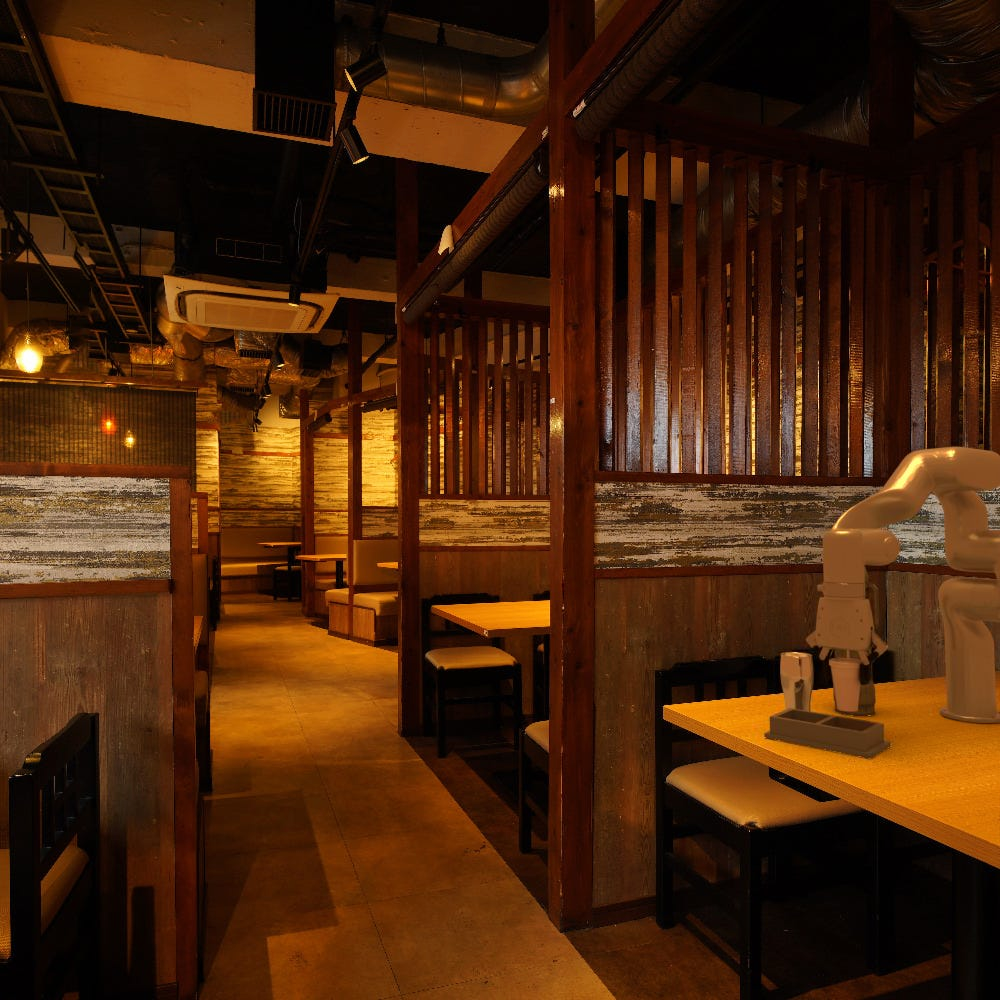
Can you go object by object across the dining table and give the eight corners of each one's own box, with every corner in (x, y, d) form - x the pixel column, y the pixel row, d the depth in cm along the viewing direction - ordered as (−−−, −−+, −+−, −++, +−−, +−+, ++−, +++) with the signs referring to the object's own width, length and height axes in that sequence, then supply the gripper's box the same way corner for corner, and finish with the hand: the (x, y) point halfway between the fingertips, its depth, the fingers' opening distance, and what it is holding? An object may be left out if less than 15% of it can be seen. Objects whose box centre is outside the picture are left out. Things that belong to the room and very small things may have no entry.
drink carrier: (787, 727, 164) (787, 706, 164) (890, 746, 149) (890, 723, 149) (764, 738, 156) (763, 716, 156) (870, 759, 141) (869, 735, 141)
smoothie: (850, 714, 145) (848, 641, 145) (822, 707, 151) (820, 637, 151) (872, 710, 148) (870, 639, 148) (844, 704, 154) (842, 635, 154)
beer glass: (817, 726, 164) (815, 657, 165) (784, 724, 166) (782, 656, 166) (811, 718, 171) (809, 652, 172) (779, 717, 173) (777, 651, 173)
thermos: (831, 705, 183) (827, 561, 185) (885, 711, 176) (880, 562, 178) (823, 712, 176) (818, 563, 177) (878, 719, 169) (873, 564, 170)
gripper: (793, 590, 154) (796, 678, 153) (883, 595, 141) (886, 691, 141) (809, 588, 159) (811, 673, 158) (897, 592, 147) (899, 685, 146)
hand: (846, 680), depth 149 cm, fingers closed on smoothie, 6 cm apart
